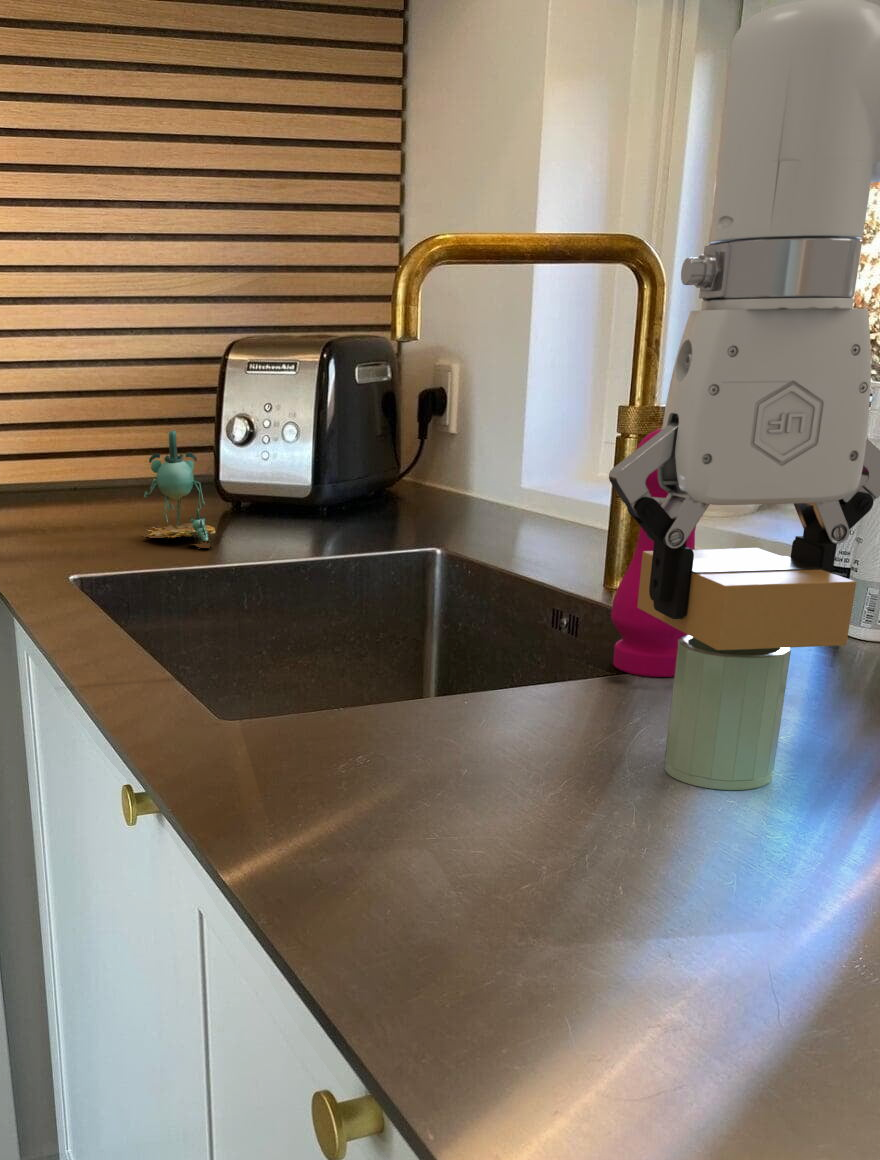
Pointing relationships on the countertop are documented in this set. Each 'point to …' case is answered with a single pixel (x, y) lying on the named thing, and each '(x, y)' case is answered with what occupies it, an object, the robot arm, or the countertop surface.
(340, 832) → the countertop surface
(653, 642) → the pepper mill
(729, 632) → the packet
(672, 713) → the cup
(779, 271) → the robot arm
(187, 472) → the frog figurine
